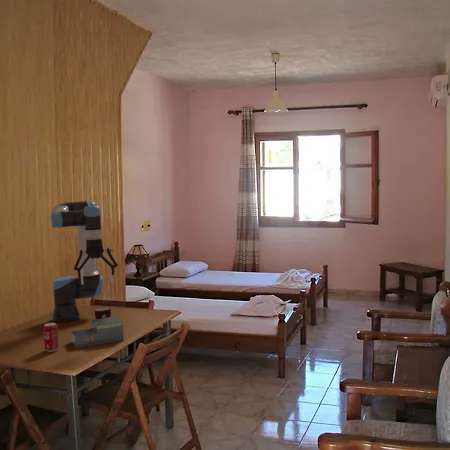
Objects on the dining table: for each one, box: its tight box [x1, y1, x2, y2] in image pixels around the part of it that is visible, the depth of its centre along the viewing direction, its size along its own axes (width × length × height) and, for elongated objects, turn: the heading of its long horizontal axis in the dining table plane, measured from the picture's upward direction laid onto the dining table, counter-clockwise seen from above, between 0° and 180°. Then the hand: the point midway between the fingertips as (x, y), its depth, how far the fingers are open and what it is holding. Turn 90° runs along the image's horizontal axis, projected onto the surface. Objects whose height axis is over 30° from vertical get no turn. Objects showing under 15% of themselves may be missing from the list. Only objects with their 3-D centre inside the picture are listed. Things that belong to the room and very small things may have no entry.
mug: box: [94, 306, 112, 319], centre depth 282 cm, size 11×8×10 cm
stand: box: [70, 315, 125, 349], centre depth 260 cm, size 13×22×12 cm, turn 115°
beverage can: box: [42, 322, 60, 353], centre depth 249 cm, size 6×6×12 cm
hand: (97, 283), depth 263 cm, fingers open, 13 cm apart
